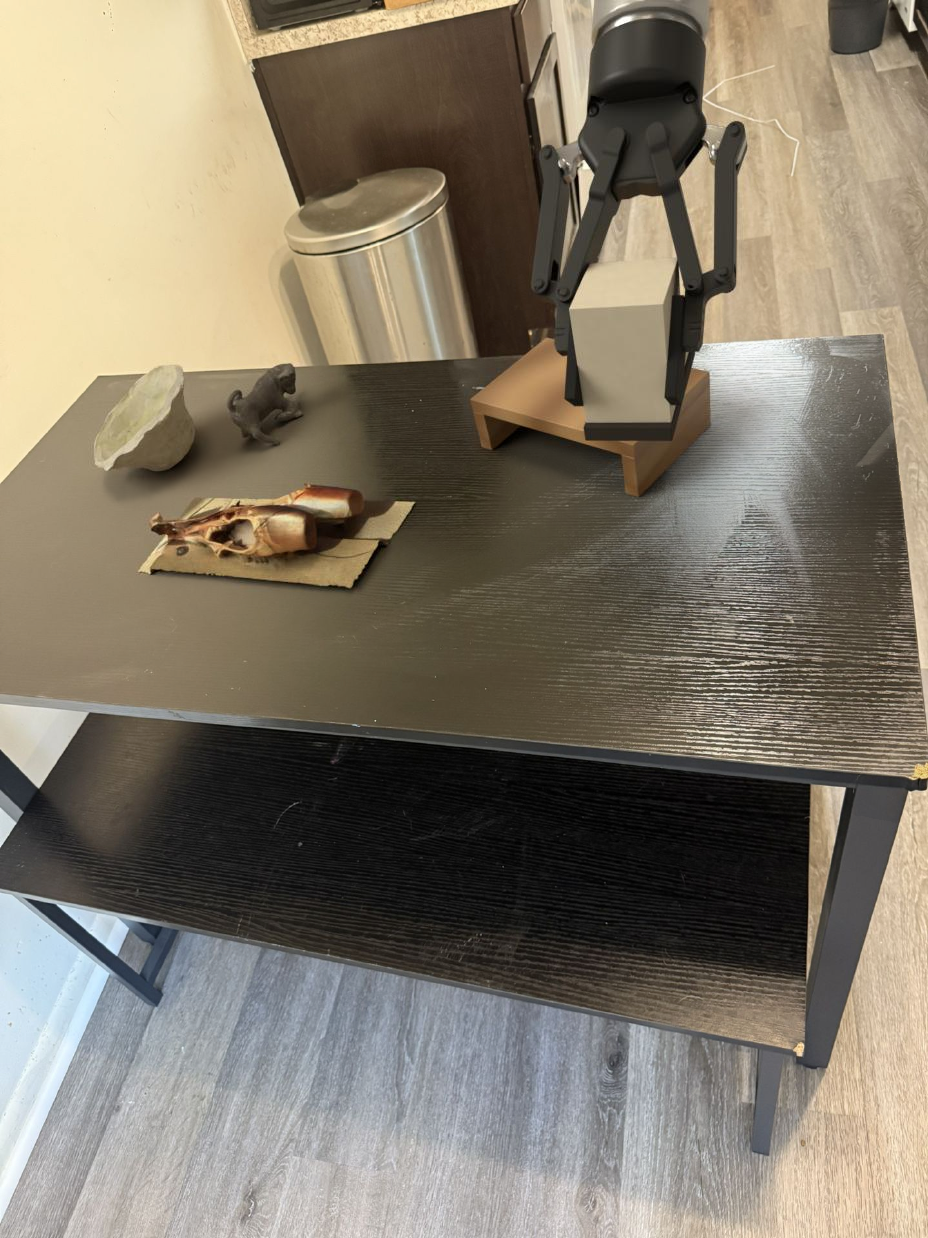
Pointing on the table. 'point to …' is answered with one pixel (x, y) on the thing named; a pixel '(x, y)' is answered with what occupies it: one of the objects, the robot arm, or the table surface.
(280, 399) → the dog figurine
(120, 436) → the bowl
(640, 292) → the beige block black base
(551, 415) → the shoe shelf
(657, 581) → the table surface
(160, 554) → the ballet pointe shoes
